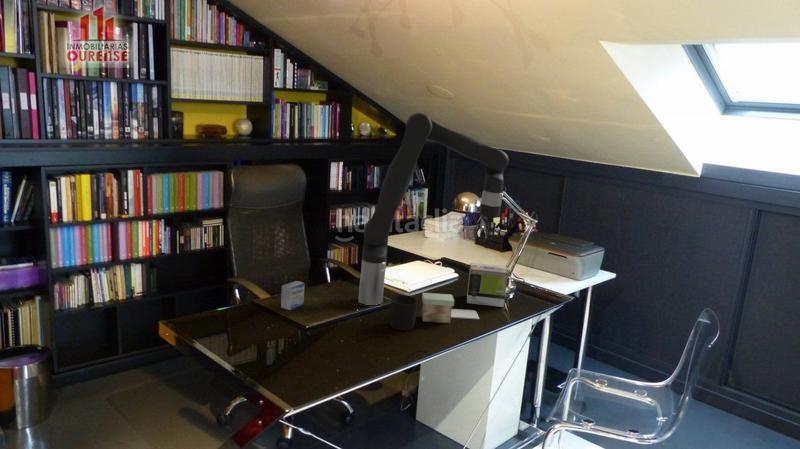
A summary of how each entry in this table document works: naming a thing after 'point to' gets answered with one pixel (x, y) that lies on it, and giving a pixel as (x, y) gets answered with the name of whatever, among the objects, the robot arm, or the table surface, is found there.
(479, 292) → the tea box
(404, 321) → the pen holder
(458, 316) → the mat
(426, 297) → the lid
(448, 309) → the box
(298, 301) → the medicine box
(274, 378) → the table surface
